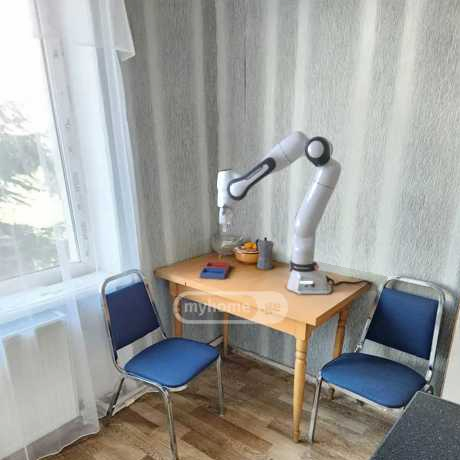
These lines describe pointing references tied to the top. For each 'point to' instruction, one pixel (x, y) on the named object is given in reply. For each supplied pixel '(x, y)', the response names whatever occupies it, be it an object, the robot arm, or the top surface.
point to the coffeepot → (264, 253)
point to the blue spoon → (216, 271)
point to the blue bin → (212, 275)
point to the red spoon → (220, 265)
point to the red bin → (217, 263)
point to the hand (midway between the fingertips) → (226, 229)
